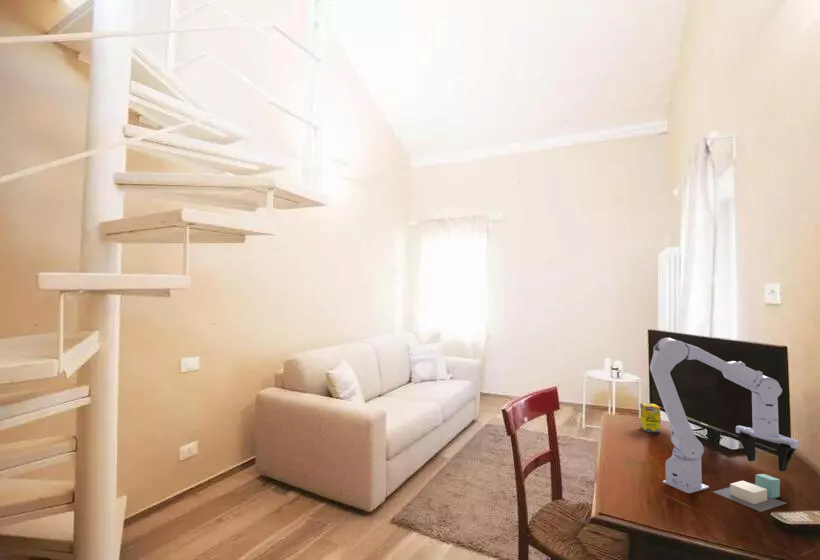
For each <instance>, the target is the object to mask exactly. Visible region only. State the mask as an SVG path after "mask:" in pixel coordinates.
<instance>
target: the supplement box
mask: <svg viewBox="0 0 820 560" xmlns="http://www.w3.org/2000/svg"><path fill="white" fill-rule="evenodd" d="M639 406H640V409H639V410H640V415H639V416H640V420H639V421H640V429H641V430H642V431H643V432H645V433H650V434H651V433H653V434H661V407H660V406H659V405H657V404H655V403H642V402H641V403H640V405H639Z"/></svg>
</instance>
